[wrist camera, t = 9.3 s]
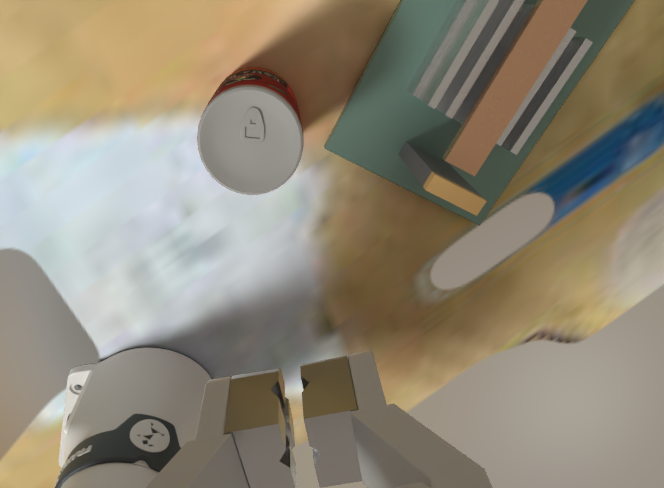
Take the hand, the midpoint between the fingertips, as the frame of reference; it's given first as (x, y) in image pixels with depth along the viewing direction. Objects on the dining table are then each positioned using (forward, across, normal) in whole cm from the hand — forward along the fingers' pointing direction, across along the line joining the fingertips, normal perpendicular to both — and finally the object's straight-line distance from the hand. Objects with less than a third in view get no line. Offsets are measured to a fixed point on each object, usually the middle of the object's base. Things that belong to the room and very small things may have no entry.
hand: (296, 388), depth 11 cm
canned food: (+39, +3, +2) cm, 39 cm away
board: (+39, -17, +2) cm, 43 cm away
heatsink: (+39, -18, +1) cm, 43 cm away
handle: (+32, -18, +1) cm, 37 cm away
